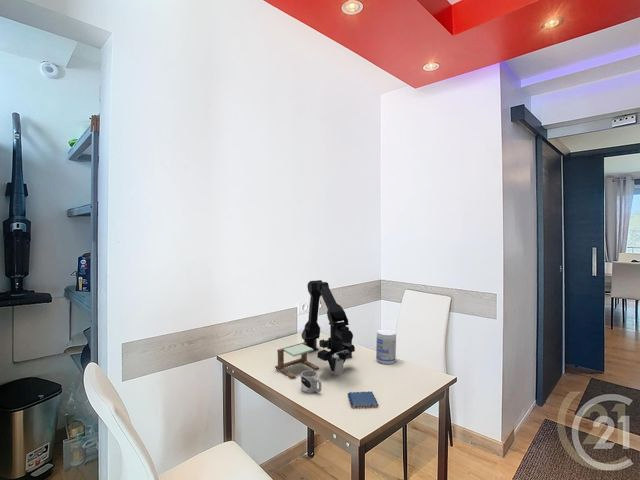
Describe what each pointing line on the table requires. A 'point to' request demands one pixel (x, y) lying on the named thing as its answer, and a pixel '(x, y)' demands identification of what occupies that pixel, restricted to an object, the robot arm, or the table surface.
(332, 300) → the robot arm
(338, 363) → the grey rectangular block
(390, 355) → the supplement tub
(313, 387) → the mug
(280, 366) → the frame
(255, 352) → the table surface
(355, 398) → the woven mat
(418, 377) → the table surface
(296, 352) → the trapdoor
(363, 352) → the table surface
